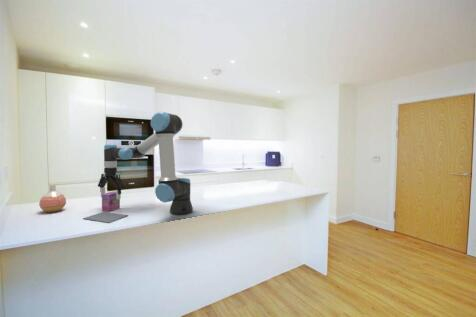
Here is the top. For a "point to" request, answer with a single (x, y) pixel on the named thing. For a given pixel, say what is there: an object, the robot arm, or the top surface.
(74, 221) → the top surface
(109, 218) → the mat
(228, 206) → the top surface
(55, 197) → the vase
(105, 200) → the box
